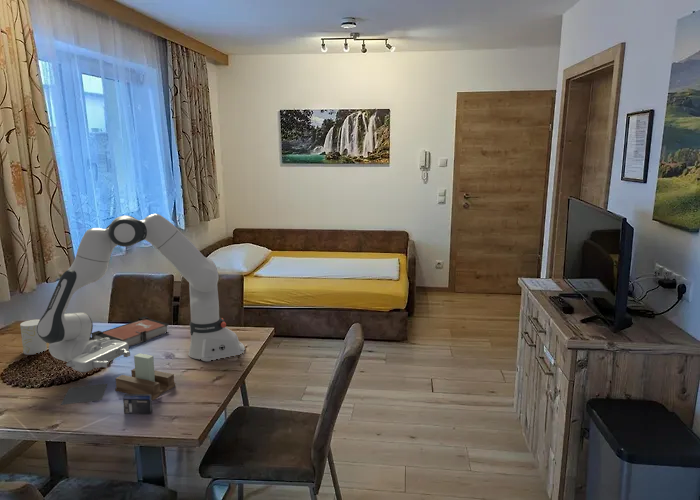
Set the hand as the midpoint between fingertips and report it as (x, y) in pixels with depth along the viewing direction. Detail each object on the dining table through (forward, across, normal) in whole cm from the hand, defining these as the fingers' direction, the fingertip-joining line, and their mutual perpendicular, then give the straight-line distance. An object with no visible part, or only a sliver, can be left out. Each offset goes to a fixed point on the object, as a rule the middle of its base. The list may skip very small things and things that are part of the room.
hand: (118, 359), depth 170 cm
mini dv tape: (+21, -13, +9) cm, 26 cm away
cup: (-54, +10, +9) cm, 56 cm away
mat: (-4, -11, +9) cm, 15 cm away
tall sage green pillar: (+11, 0, +8) cm, 14 cm away
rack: (+11, 0, +9) cm, 15 cm away
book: (-29, +36, +10) cm, 47 cm away
